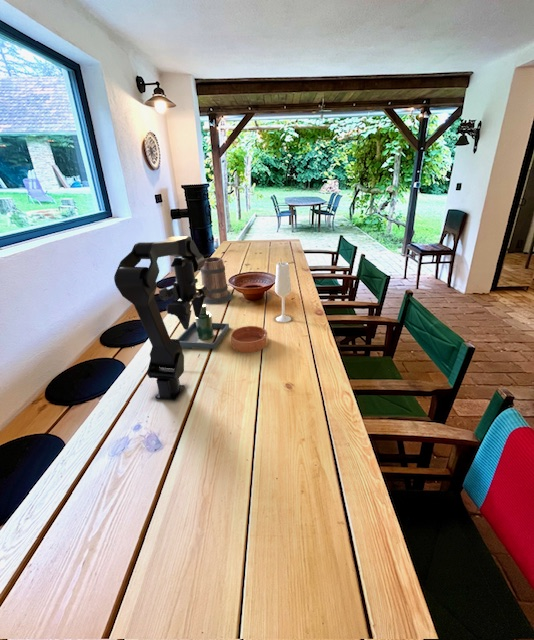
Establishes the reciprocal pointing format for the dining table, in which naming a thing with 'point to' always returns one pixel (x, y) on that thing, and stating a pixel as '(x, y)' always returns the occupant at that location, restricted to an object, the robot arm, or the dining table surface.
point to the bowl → (249, 339)
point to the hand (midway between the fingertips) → (192, 323)
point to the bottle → (204, 325)
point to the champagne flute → (283, 287)
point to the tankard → (215, 281)
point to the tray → (191, 337)
